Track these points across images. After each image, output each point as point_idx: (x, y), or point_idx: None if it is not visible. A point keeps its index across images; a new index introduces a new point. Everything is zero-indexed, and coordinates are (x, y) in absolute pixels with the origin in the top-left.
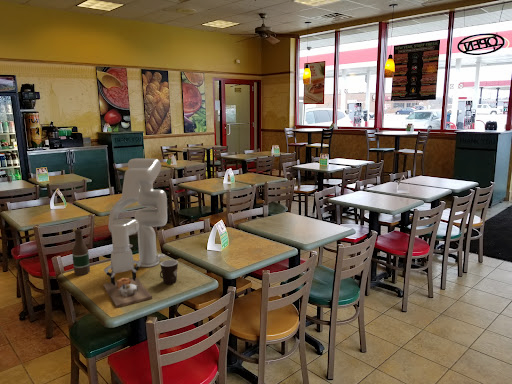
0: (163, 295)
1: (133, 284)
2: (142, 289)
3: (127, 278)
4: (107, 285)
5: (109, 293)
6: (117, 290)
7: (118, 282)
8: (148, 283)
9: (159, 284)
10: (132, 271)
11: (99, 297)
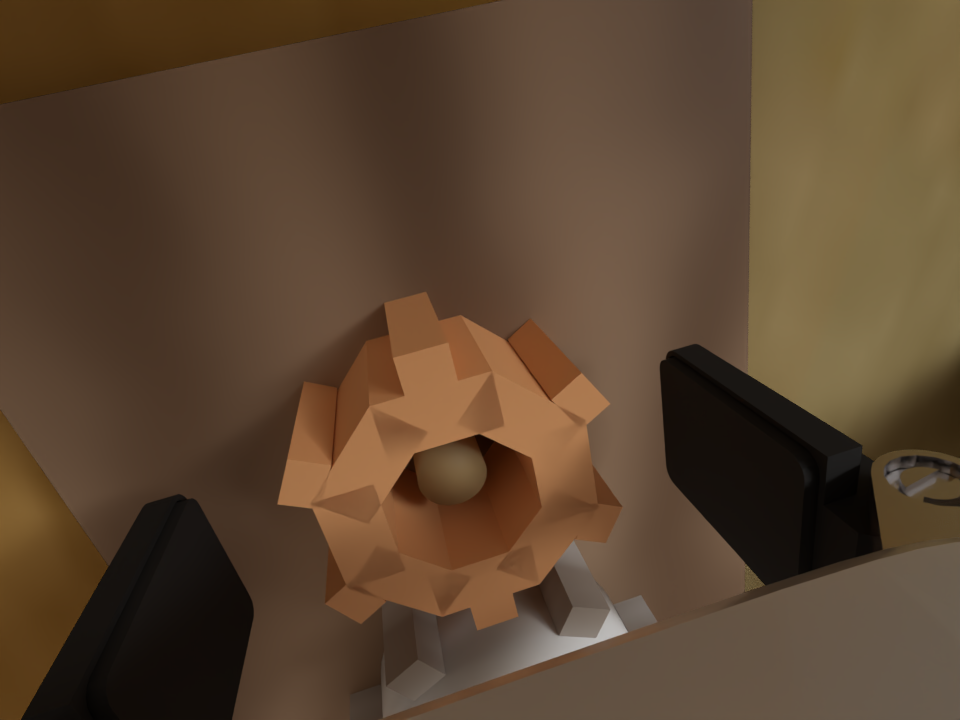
0: None
1: None
2: (697, 597)
3: (559, 424)
4: (8, 294)
5: None
6: (316, 577)
7: (331, 602)
8: (833, 312)
9: (938, 396)
10: (827, 488)
11: (6, 648)
